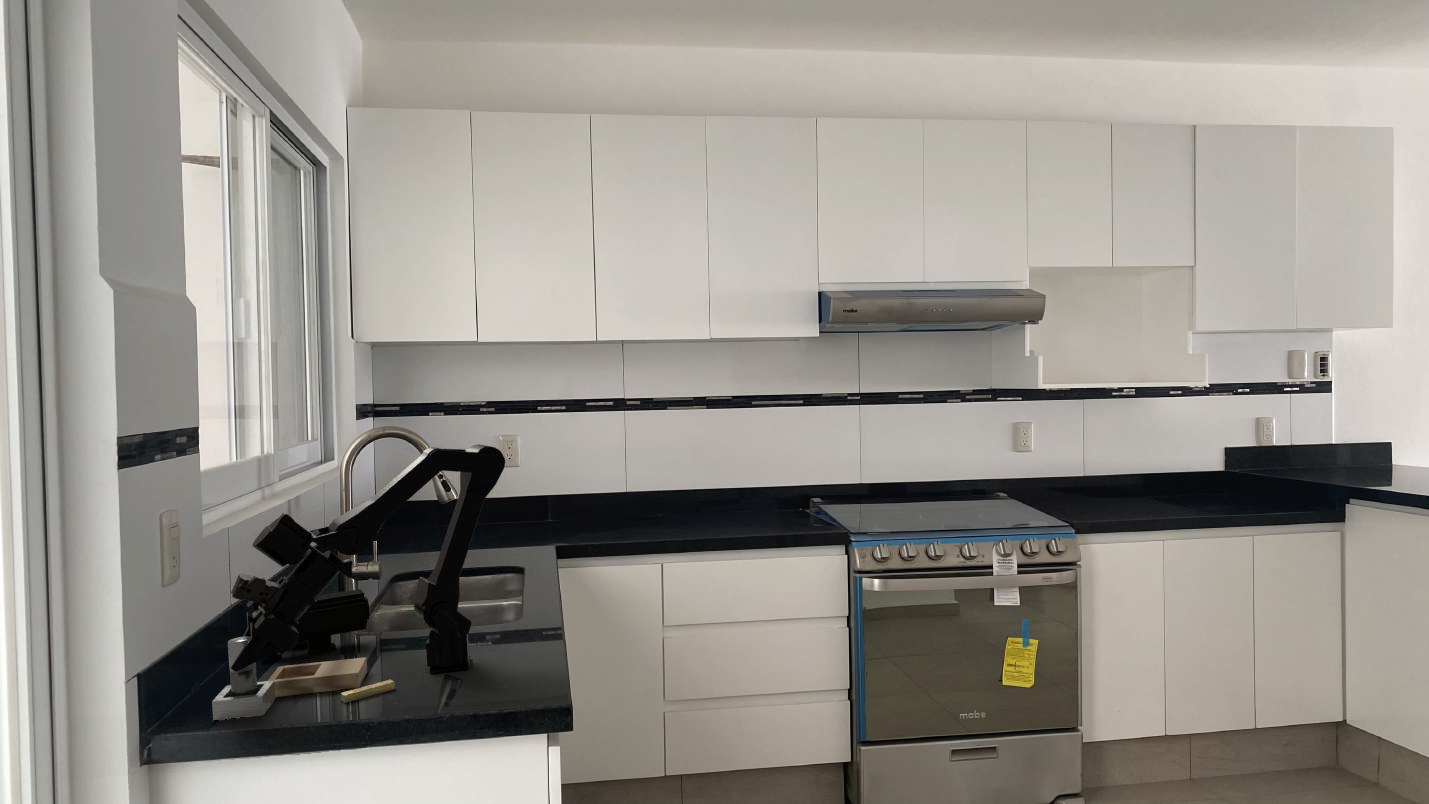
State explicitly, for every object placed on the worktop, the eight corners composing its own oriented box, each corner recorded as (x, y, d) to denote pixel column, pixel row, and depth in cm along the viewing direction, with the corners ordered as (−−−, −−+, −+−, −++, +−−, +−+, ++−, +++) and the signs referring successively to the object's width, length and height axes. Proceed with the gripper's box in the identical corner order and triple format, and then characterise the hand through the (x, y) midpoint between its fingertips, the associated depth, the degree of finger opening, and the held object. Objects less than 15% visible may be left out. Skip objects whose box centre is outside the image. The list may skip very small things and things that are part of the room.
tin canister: (261, 700, 142) (256, 635, 142) (254, 709, 138) (250, 642, 138) (236, 703, 141) (231, 637, 141) (229, 712, 138) (224, 644, 137)
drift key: (390, 686, 147) (390, 679, 147) (394, 688, 146) (394, 681, 146) (341, 700, 142) (340, 693, 142) (344, 703, 141) (344, 695, 141)
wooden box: (367, 671, 155) (366, 657, 155) (359, 687, 148) (358, 672, 148) (279, 681, 152) (278, 666, 152) (267, 697, 145) (266, 682, 145)
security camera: (261, 656, 167) (257, 603, 166) (366, 637, 176) (363, 586, 176) (264, 666, 161) (260, 611, 160) (372, 646, 170) (369, 593, 170)
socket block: (275, 698, 144) (274, 680, 144) (263, 715, 137) (262, 695, 137) (227, 704, 142) (226, 685, 142) (213, 721, 136) (212, 701, 136)
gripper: (258, 545, 149) (185, 623, 144) (269, 564, 133) (188, 653, 128) (312, 584, 153) (244, 661, 148) (330, 607, 137) (254, 695, 132)
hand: (232, 666), depth 139 cm, fingers closed on tin canister, 4 cm apart
